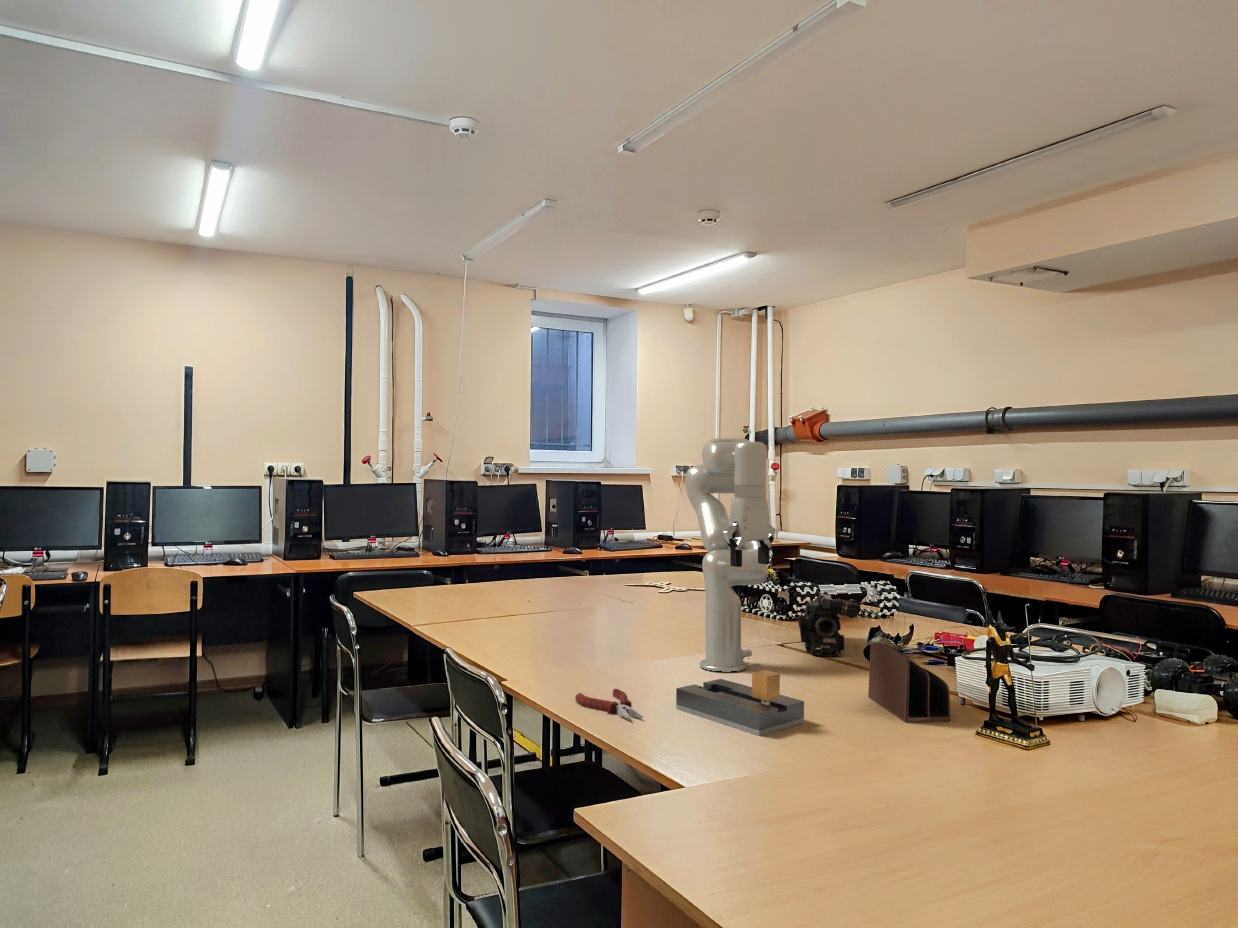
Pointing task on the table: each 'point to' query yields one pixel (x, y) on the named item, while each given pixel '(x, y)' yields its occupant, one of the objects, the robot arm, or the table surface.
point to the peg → (765, 686)
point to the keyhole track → (739, 707)
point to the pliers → (609, 704)
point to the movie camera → (825, 623)
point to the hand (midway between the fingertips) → (750, 565)
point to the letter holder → (906, 687)
